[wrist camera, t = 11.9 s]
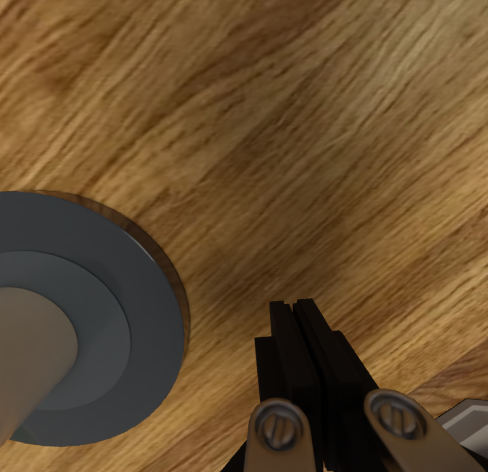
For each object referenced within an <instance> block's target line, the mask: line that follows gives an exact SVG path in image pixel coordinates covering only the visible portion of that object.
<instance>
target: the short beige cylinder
mask: <svg viewBox="0 0 488 472" xmlns="http://www.w3.org/2000/svg"><path fill="white" fill-rule="evenodd" d="M77 353H78V340H77V335H76V332H75V329H74V327H73V325H72V323H71V321H70V320H69V318H68V317H67V315H66V314H65V313H64V312H63V311H62V310H61V309H60V308H59V307H58V306H57V305H56V304H55V303H53V302H52V301H50V300H49V299H47V298H46V297H44V296H42V295H40V294H38V293H35V292H33V291H29V290H26V289H21V288H15V287H0V448H1V447H2V446H3V445H4V444H5V443H6V441H7V440H8V439H9V438H10V437H11V436H12V435H13V434H14V433H15V431H16V430H17V429H18V428H19V427H20V426H21V425H22V424H23V423H24V421H25V420H26V419H27V418H28V417H29V416H30V415H31V414H32V412H33V411H34V410H35V409H36V408H37V407H38V406H39V405H40V404H41V402H42V401H43V400H44V399H45V398H46V397H47V396H48V395H49V393H50V392H51V391H52V390H53V389H54V388H55V387H56V386H57V385H58V383H59V382H60V381H61V380H62V379H63V378H64V377H65V376H66V374H67V373H68V372H69V371H70V370H71V368H72V367H73V365H74V363H75V360H76V357H77Z"/></svg>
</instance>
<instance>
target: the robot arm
mask: <svg viewBox="0 0 488 472" xmlns="http://www.w3.org/2000/svg"><path fill="white" fill-rule="evenodd" d="M270 320H271V336H268V337H257V338H254V339H255V351H256V362H257V373H258V384H259V394H260V404H259V405H257V406H256V407H255V409H254V410H253V412H252V414H251V416H250V420H249V425H248V435H247V440H246V441H245V442H244V444H243V445H242V446H241V447H240V449H239V450H238V451H237V452H236V453H235V455H234V456H233V457H232V458H231V459H230V461H229V462H228V463H227V464H226V465H225V467H224V468H223V469H222V470H221V471H220V472H323V461H324V464H325V467H326V469H327V471H333V472H488V459H487V458H485V457H483V456H481V455H479V454H478V453H476V452H474V451H472V450H470V449H468V448H466V447H464V446H462V445H461V444H459V443H458V442H457V441H456V440H455V439H454V438H453V437H452V436H451V435H450V434H449V433H448V432H447V431H446V430H445V429H444V428H443V427H442V426H441V425H440V424H439V423H438V422H437V421H436V420H435V419H434V418H433V416H432V415H431V414H430V413H429V412H428V411H427V410H426V409H425V408H424V407H422V406H421V405H420V404H419V403H418V402H417V401H415V400H414V399H412V398H411V397H409V396H407V395H406V394H404V393H401V392H398V391H396V390H392V389H386V388H382V389H379V387H378V386H377V384H376V383H375V381H374V380H373V378H372V377H371V375H370V374H369V372H368V371H367V369H366V368H365V366H364V365H363V363H362V362H361V360H360V359H359V357H358V356H357V354H356V353H355V351H354V350H353V348H352V347H351V345H350V344H349V342H348V341H347V339H346V338H345V336H344V335H343V333H342V332H341V331H339V330H337V331H332V330H331V328H330V327H329V325H328V324H327V322H326V320H325V319H324V317H323V315H322V314H321V312H320V310H319V309H318V307H317V306H316V304H315V302H314V301H313V299H312V298H306V299H298V300H297V303H293V312H292V310H291V307H290V305H289V304H285V303H284V301H272V302H270Z"/></svg>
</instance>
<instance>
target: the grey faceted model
mask: <svg viewBox="0 0 488 472" xmlns="http://www.w3.org/2000/svg"><path fill="white" fill-rule="evenodd" d="M436 421H437V422H438V423H439V424H440V425H441V426H442V427H443V428H444V429H445V430H446V431H447V432H448V433H449V434H450V435H451V436H452V437H453V438H454V439H455V440H456V441H457V442H458V443H459V444H461V445H462V446H464V447H466V448H468V449H470V450H472V451H474V452H476V453H478V454H479V455H481V456H483V457H485V458H487V459H488V401H484V400H472V399H466V400H464V401H463V402H461V403H460V404H458V405H457V406H455V407H454V408H452V409H451V410H449V411H448V412H446V413H445V414H443V415H442V416H440V417H439V418H437V419H436Z"/></svg>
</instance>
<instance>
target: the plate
mask: <svg viewBox="0 0 488 472" xmlns="http://www.w3.org/2000/svg"><path fill="white" fill-rule="evenodd" d="M0 287H15V288H21V289H26V290H29V291H33V292H35V293H38V294H40V295H42V296H44V297H46V298H47V299H49V300H50V301H52V302H53V303H55V304H56V305H57V306H58V307H59V308H60V309H61V310H62V311H63V312H64V313H65V314H66V315H67V317H68V318H69V320H70V321H71V323H72V325H73V327H74V329H75V332H76V335H77V340H78V353H77V357H76V360H75V363H74V365H73V367H72V368H71V370H70V371H69V372H68V373H67V374H66V376H65V377H64V378H63V379H62V380H61V381H60V382H59V383H58V385H57V386H56V387H55V388H54V389H53V390H52V391H51V392H50V393H49V395H48V396H47V397H46V398H45V399H44V400H43V401H42V402H41V404H40V405H39V406H38V407H37V408H36V409H35V410H34V411H33V412H32V414H31V415H30V416H29V417H28V418H27V419H26V420H25V421H24V423H23V424H22V425H21V426H20V427H19V428H18V429H17V430H16V431H15V433H14V434H13V435H12V436H11V437H10V438H9V440H13V441H18V442H22V443H26V444H33V445H40V446H55V447H66V446H80V445H85V444H91V443H96V442H99V441H103V440H106V439H110V438H112V437H115V436H117V435H119V434H122V433H124V432H126V431H128V430H129V429H131V428H133V427H135V426H136V425H138V424H139V423H141V422H142V421H143V420H145V419H146V418H147V417H149V416H150V415H151V414H152V413H153V412H154V411H155V410H156V409H157V408H158V407H159V406H160V405H161V403H162V402H163V401H164V399H165V398H166V397H167V395H168V394H169V392H170V391H171V389H172V387H173V385H174V383H175V381H176V379H177V376H178V373H179V371H180V368H181V365H182V362H183V358H184V355H185V352H186V348H187V343H188V338H189V322H190V320H189V311H188V304H187V300H186V296H185V292H184V289H183V287H182V284H181V282H180V279H179V277H178V275H177V273H176V271H175V269H174V268H173V266H172V264H171V262H170V261H169V259H168V258H167V257H166V255H165V254H164V253H163V251H162V250H161V249H160V247H159V246H158V245H157V244H156V243H155V242H154V241H153V240H152V239H151V238H150V237H149V236H148V235H147V234H146V233H145V232H144V231H143V230H141V229H140V228H139V227H138V226H137V225H135V224H134V223H133V222H132V221H130V220H129V219H127V218H125V217H124V216H122V215H121V214H119V213H117V212H116V211H114V210H112V209H110V208H108V207H106V206H104V205H102V204H100V203H97V202H95V201H92V200H89V199H86V198H83V197H80V196H76V195H71V194H67V193H62V192H55V191H43V190H31V191H5V192H0Z"/></svg>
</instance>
